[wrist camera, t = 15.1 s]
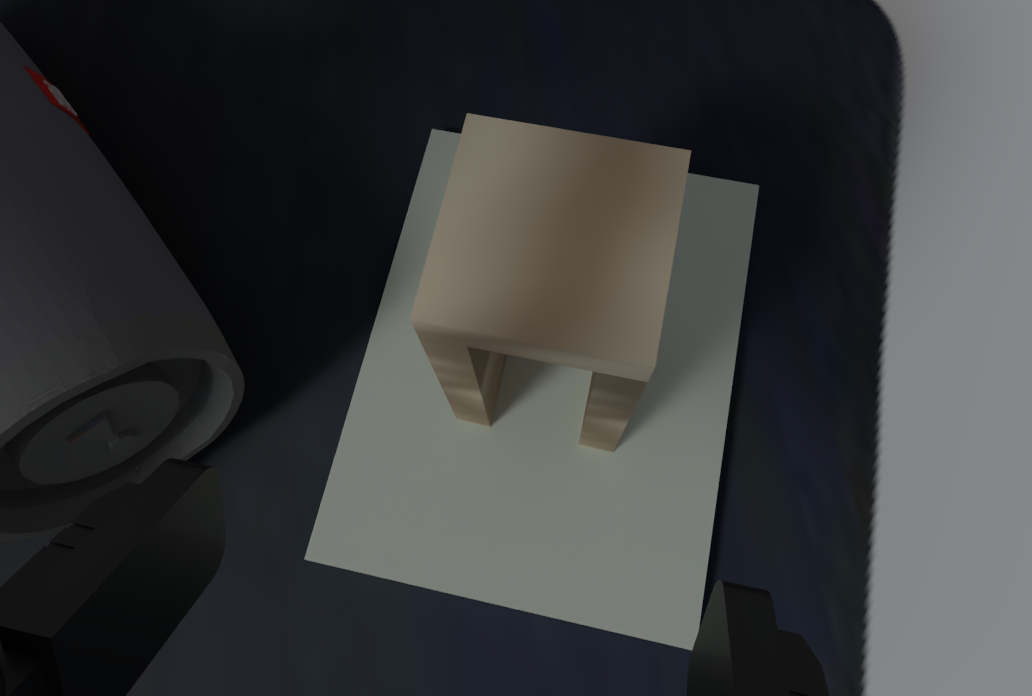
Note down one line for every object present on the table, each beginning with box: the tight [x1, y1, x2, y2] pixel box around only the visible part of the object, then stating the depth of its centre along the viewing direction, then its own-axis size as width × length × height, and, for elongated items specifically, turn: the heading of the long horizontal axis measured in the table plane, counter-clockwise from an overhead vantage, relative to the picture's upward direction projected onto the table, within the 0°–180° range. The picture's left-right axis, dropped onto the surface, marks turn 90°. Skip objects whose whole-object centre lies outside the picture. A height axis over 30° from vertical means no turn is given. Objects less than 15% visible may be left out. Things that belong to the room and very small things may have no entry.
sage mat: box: [304, 129, 759, 650], centre depth 27 cm, size 13×17×1 cm
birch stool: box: [410, 113, 691, 452], centre depth 22 cm, size 6×6×10 cm
